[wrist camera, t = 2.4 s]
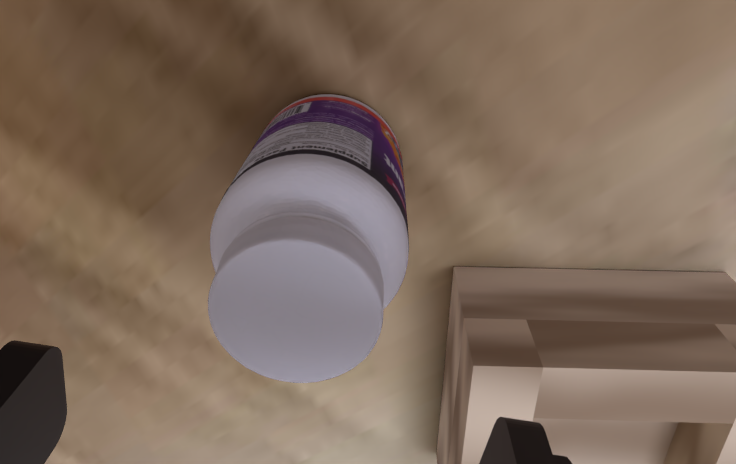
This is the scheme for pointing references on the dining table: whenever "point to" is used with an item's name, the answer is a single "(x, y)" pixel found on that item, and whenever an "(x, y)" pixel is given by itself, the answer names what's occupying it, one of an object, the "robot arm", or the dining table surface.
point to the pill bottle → (310, 242)
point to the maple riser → (593, 363)
